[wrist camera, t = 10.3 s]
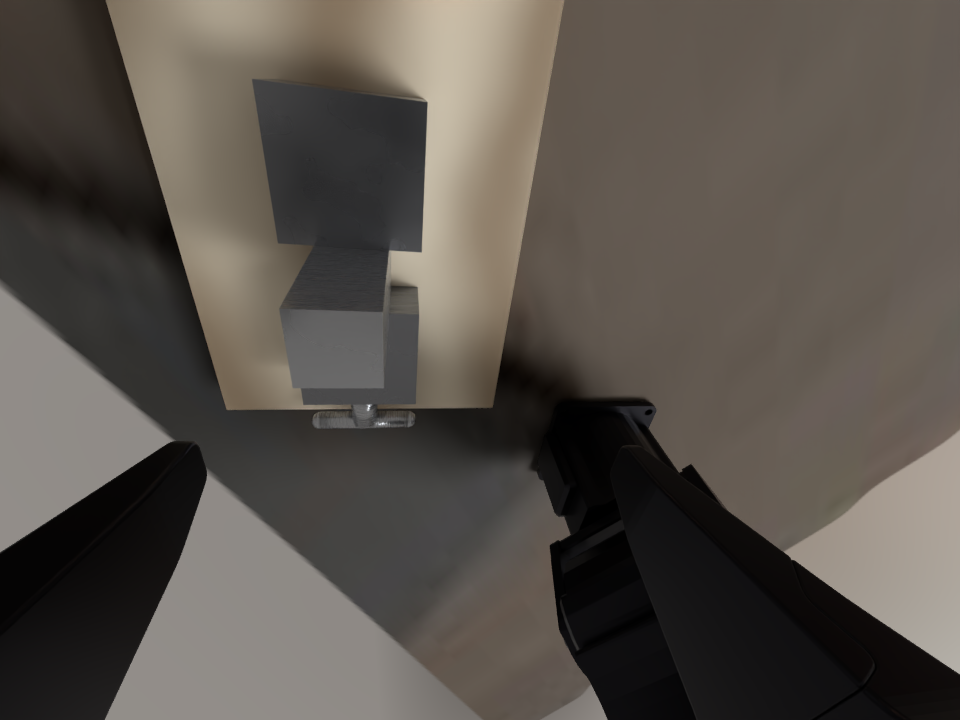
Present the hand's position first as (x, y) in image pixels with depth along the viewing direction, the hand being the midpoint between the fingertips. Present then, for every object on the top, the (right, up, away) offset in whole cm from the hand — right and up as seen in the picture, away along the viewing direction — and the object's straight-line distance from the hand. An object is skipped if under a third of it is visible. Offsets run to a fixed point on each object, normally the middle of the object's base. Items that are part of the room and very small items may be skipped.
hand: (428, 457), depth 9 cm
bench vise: (-4, +5, +8) cm, 10 cm away
